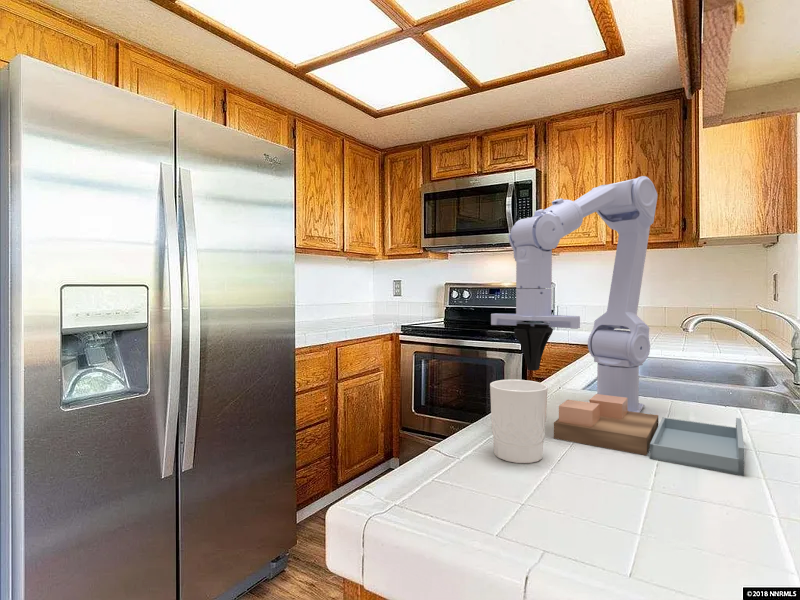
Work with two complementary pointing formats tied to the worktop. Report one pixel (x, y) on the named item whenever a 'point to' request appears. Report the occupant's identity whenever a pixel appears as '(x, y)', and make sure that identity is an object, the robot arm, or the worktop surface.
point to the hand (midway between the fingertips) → (533, 369)
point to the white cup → (518, 419)
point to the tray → (700, 445)
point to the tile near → (579, 413)
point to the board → (613, 432)
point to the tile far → (611, 405)
